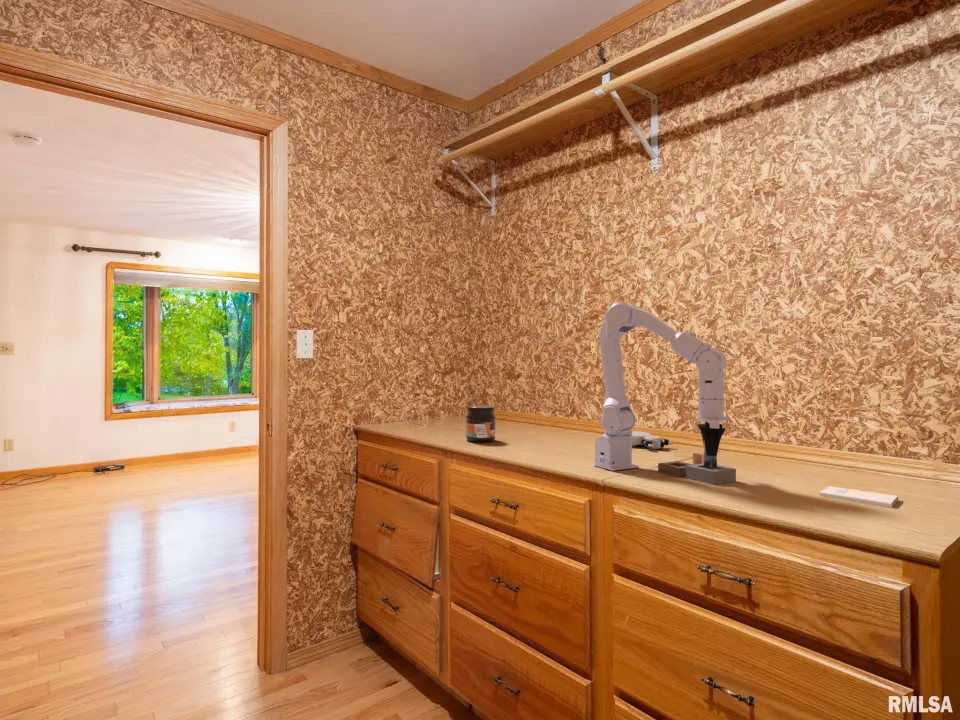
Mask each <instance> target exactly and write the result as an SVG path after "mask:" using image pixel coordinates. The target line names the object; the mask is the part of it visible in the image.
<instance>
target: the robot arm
mask: <svg viewBox="0 0 960 720" xmlns="http://www.w3.org/2000/svg"><path fill="white" fill-rule="evenodd" d="M636 327H640V328H641V327H642V328H643V327H644V328H645V329H647V330H649V331H651V332H652V333H654V334H655V335H658V336H659V337H661V338H663V339H664V340H666V341H667V342H669V343H670V346H671V349H672V351H673V352H675V353H676V354H678V355H680V356H681V357H682V358H684V359H686V360H687V361H688V362H690V363H692V364H694V365H695V366H696V368H697V370H698V375H699V376H698V377H699V378H698V410H697V411H698V412H697V413H698V415H697V420H698V421H701V422H705V423H698V424H697V427H698V429H699V431H700V434H701V438H702V444H703V446H704V442H705V449H706V454H707V456H717V457H718V452H719V447H720V442H721V440H722V437H723V435H724V434H725V433H726V432H725V431H726V428H725V427H723V424H722V423H723V422H725V421H726V422H728V421H730V417H729V416H725V379H724V377H725V376H724V375H725V371H724V369H725V368H726V366H727V363H728V361H727V357H726V355H725V353H723V352H722V351H721V350H720V349H717V348H713V349H712V347H713V345H712V344H711V343H706V342H704V341H702V340H700V339H699V338H698V337H696V335H697V334H696V333H695V332H692V331H680V332H678V331H677V330H676V329H674V328H673V327H671V326H670V325H668V324H667V323H666V322H665V321H663V320H662V319H660V318H658V317H657V316H655V315H654V314H653V313H651V312H649V311H647V310H645V309H643V308H640V307H639V306H638V305H635V304H627V303H625V302H621V301H619V302H615V303H613V304H612V305H610V307H609V308H608V309H606V310H605V312H604V319H603V323H602V324H601V328H600V331H599V333H598V339H599V340H598V341H599V347H600V356H601V366H602V373H603V382H604V383H603V384H604V393H605V401H604V402H603V405H602V414H601V418H600V426H601V428H602V429H603V430H604V434H603V435H599V436H597V438H596V439H595V444H594V445H595V447H594V453H595V454H594V463H593V464H592V465H593V466H594V467H598V468H602V469H605V470H609V471H611V472H613V471H620V470H629V469H636V468H640V466H639V465H637V464H635V463H632V462H633V446H632V431H633V430H632V428H634V426H635V425H636V415H635V413H634V412H633V410H632V408H631V406H632V405H631V402H630V401H629V399H628V398H627V394H626V386H625V385H626V384H625V378H624V377H625V376H624V368H623V360H622V351H621V339H622V338H623V337H624V336H625V335H626V334H627V333H628V332H629V331H631V330H632V329H634V328H636Z"/></svg>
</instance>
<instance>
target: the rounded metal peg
mask: <svg viewBox="0 0 960 720" xmlns="http://www.w3.org/2000/svg"><path fill="white" fill-rule="evenodd" d="M703 454H704V467H708V468H717V465H718V455H717V456H707V454H706V449H705V442H704V445H703Z"/></svg>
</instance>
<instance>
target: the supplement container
mask: <svg viewBox="0 0 960 720" xmlns="http://www.w3.org/2000/svg"><path fill="white" fill-rule="evenodd" d="M466 409H467V414H466V415H465V423H466V424H465V425H466V426H465V429H466V430H465V439H466V440H467V441H468V442H470V443H478V444H479V443H480V444H481V443H482V444H483V443H484V444H486V443H492V442H494V441H495V440H496V438H497V437H496V436H497V435H496V419H497V416H496V415H495V406H493V405H469V406H467V408H466Z"/></svg>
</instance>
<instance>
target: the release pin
mask: <svg viewBox="0 0 960 720" xmlns="http://www.w3.org/2000/svg"><path fill="white" fill-rule="evenodd" d="M702 463H704V453H698V452H693V453H692V464H693V465H694V464H702Z"/></svg>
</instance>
